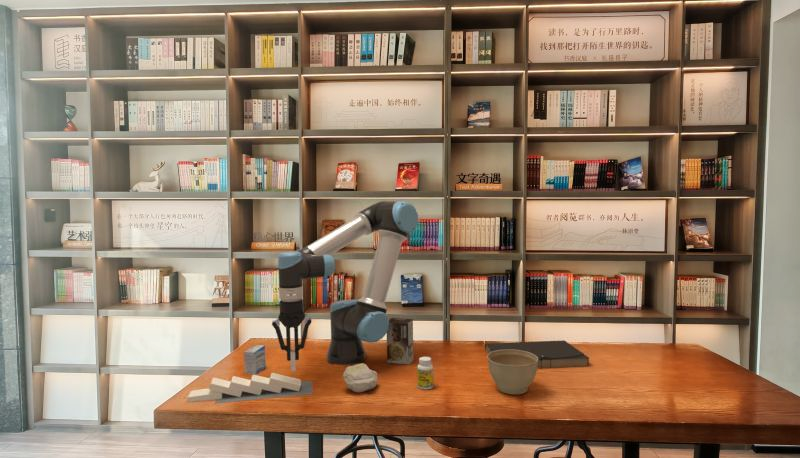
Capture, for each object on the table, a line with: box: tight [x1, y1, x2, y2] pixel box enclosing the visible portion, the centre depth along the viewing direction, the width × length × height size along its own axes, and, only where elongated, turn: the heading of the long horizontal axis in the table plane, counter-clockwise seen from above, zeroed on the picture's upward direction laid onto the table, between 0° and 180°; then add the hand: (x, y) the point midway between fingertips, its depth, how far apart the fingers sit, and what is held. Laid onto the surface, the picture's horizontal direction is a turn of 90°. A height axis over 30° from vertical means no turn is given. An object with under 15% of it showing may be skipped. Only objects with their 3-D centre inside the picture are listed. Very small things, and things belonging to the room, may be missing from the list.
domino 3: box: [229, 375, 262, 395], centre depth 154 cm, size 2×5×10 cm
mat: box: [214, 380, 314, 405], centre depth 155 cm, size 30×11×1 cm, turn 102°
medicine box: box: [243, 344, 267, 375], centre depth 174 cm, size 8×4×9 cm, turn 168°
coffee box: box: [386, 317, 415, 366], centre depth 182 cm, size 9×6×16 cm
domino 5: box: [269, 372, 302, 391], centre depth 156 cm, size 2×5×10 cm
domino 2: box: [208, 377, 242, 397], centre depth 153 cm, size 2×5×10 cm
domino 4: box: [249, 374, 282, 393], centre depth 155 cm, size 2×5×10 cm
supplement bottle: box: [416, 356, 435, 390], centre depth 158 cm, size 5×5×10 cm
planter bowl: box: [486, 349, 538, 395], centre depth 155 cm, size 16×16×11 cm
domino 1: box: [187, 387, 224, 403], centre depth 151 cm, size 2×5×10 cm
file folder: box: [484, 339, 590, 369], centre depth 185 cm, size 33×4×24 cm
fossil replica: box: [342, 362, 379, 393], centre depth 157 cm, size 12×8×10 cm
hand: (293, 369), depth 157 cm, fingers closed
